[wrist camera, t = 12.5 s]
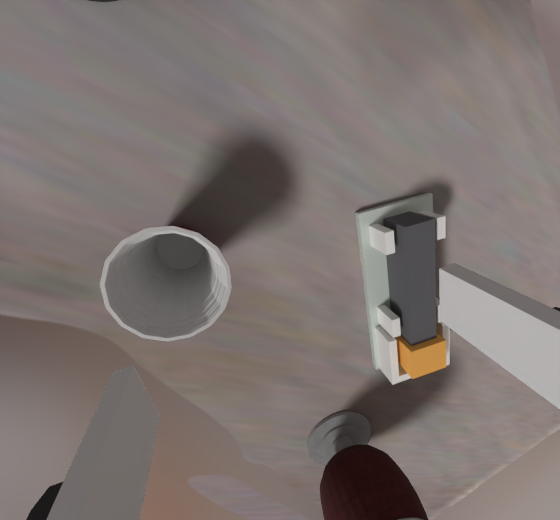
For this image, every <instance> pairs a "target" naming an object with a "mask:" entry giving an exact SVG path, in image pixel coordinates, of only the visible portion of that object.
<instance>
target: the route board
mask: <svg viewBox="0 0 560 520" xmlns="http://www.w3.org/2000/svg"><path fill="white" fill-rule="evenodd" d="M409 211H411V212H414V213H417V214H421V215H424V216H427V217H431V218H434V219H435V240H440V239H443V238H445V236H446V216H445V215H441V214H437V213H434V212H433V193H424V194H421V195H417V196H414V197H410V198H406V199H403V200H399V201H395V202H392V203H388V204H384V205H381V206H377V207H373V208H370V209H366V210H362V211H359V212H355V216H356V225H357V233H358V242H359V250H360V259H361V267H362V276H363V284H364V292H365V301H366V309H367V318H368V326H369V335H370V343H371V352H372V360H373V366H374V368H375V369H376V370H377V369H381V371H382V372H383V373H384V374H385V376H386V377H387V378H388V380H389V381H390V382H391V383H392V385H393V384H396V383H399V382H402V381H405V380H407V379H410V378H411V377H410V375H409V374H408V373H407V372H406V371H405V370H404V369H403V368H402V366H401V365H400V364H399V363H398V354H397V341H396V339H395V338H394V337H397V336H400V335H401V329H400V318H399V317H398V316H397V315H396V314H395V313H393V312H392V311H391V308H390V296H389V284H388V271H387V259H386V255H389V254H393V253H395V242H394V230H391V229H389V228H387V227H384V222H383V219H384V218H388V217H391V216H395V215H398V214H402V213H405V212H409ZM436 329H437V333H438V334H439V335H440V336H442V337H443V338H444V339H445V340H446V366H447V365H449V364H450V328H449V327H448V326H447V325H445V324H444V323H443V322H441V321H440V299H438V298H437V297H436Z"/></svg>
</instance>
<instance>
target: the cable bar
mask: <svg viewBox="0 0 560 520" xmlns="http://www.w3.org/2000/svg"><path fill="white" fill-rule="evenodd" d="M383 222H384V227H387V228H389V229H391V230H394V242H395V253H393V254H389V255H386V259H387V271H388V284H389V296H390V308H391V311H392V312H393V313H395V314H396V315H397V316H398V317H399V318H400V329H401V335H400V336H397V337H394V338H395V339H396V341H397V354H398V363H399V364H400V365H401V366H402V368H403V369H404V370H405V371H406V372H407V373H408V374H409V375H410V377H411V378H412V379H415V378H417V377H420V376H423V375H426V374H429V373H431V372H434V371H437V370H440V369H443V368H445V367H446V340H445V339H444V338H443V337H442V336H440V335H439V334H438V333H437V329H436V249H435V219H434V218H431V217H427V216H424V215H421V214H417V213H414V212H411V211H409V212H405V213H402V214H398V215H395V216H391V217H388V218H384V219H383Z"/></svg>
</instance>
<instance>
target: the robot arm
mask: <svg viewBox="0 0 560 520" xmlns="http://www.w3.org/2000/svg"><path fill="white" fill-rule="evenodd" d="M90 1H98V2H110V1H117V0H90ZM439 297H440V321H441V322H443V323H444V324H445V325H447V326H448V327H449V328H451V329H452V330H453V331H455V332H456V333H458V334H459V335H460V336H462V337H463V338H464V339H466V340H467V341H468V342H470V343H471V344H472V345H474V346H475V347H476V348H478V349H479V350H480V351H482V352H483V353H485V354H486V355H487V356H489V357H490V358H491V359H493V360H494V361H495V362H497V363H498V364H499V365H501V366H502V367H503V368H505V369H506V370H507V371H509V372H510V373H512V374H513V375H514V376H516V377H517V378H518V379H520V380H521V381H522V382H524V383H525V384H526V385H528V386H529V387H530V388H532V389H533V390H534V391H536V392H537V393H539V394H540V395H541V396H543V397H544V398H545V399H547V400H548V401H549V402H551V403H552V404H553V405H555V406H556V407H557V408H559V409H560V308H557V307H554V308H551V307H549V306H547V305H544V304H542V303H540V302H538V301H536V300H533V299H531V298H529V297H527V296H525V295H523V294H520V293H518V292H516V291H514V290H512V289H510V288H507V287H505V286H503V285H501V284H499V283H497V282H494V281H492V280H490V279H488V278H486V277H483V276H481V275H479V274H477V273H475V272H473V271H470V270H468V269H466V268H464V267H462V266H460V265H457V264H455V263H454V264H451V265H448V266H445V267H441V268H439ZM159 419H160V414H159V412H158V411H157V409H156V407H155V405H154V403H153V401H152V399H151V397H150V395H149V394H148V392H147V390H146V388H145V386H144V384H143V382H142V380H141V379H140V377H139V375H138V373H137V371H136V369H135V367H134V366H133V365H132V366H129V367H126V368H122V369H119V370H116V371H113V372H112V375H111V377H110V379H109V381H108V384H107V386H106V388H105V390H104V392H103V395H102V397H101V399H100V401H99V404H98V406H97V408H96V410H95V413H94V415H93V417H92V419H91V422H90V424H89V426H88V428H87V431H86V433H85V435H84V437H83V439H82V442H81V444H80V446H79V448H78V450H77V453H76V455H75V457H74V459H73V462H72V464H71V466H70V469H69V470H68V473H67V475H66V477H65V479H64V482H61V483H59V484H56V485H53V486H50V487H49V488H48V489H47V490H46V492H45V493H44V494H43V496H42V497H41V498H40V499H39V501H38V502H37V503H36V505H35V506H34V507H33V509H32V510H31V512H30V513H29V516H28V518H27V520H140V516H141V511H142V505H143V500H144V495H145V490H146V484H147V480H148V475H149V469H150V464H151V459H152V454H153V449H154V444H155V439H156V434H157V429H158V424H159Z"/></svg>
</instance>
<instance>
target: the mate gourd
mask: <svg viewBox="0 0 560 520" xmlns="http://www.w3.org/2000/svg"><path fill="white" fill-rule="evenodd" d="M370 437H371V426H370V424H369V422H368V420H367V419H366V418H365V416H363V415H362V414H360V413H357V412H352V411H343V412H338V413H335V414H332V415H330V416H328V417H326V418H325V419H323V420H322V421H320V422H319V423H318V424H317V425H316V426H315V427H314V428H313V430H312V431H311V433H310V435H309V437H308V440H307V449H308V452H309V455H310V457H311V458H312V459H313V460H314V461H316V462H317V463H320V464H323V465H326V467H325V470H324V473H323V477H322V480H321V484H320V496H321V504H322V509H323V515H324V519H325V520H428V518H427V515H426V512H425V510H424V508H423V506H422V504H421V501H420V499H419V497H418V495H417V493H416V491H415V490H414V488H413V486H412V485H411V483H410V482H409V480H408V478H407V477H406V476H405V474H404V473H403V472H402V470H401V469H400V468H399V467H398V465H397V464H396V463H395V462H394V461H393V460H392V459H391V457H390V456H389V455H388V454H386V453H385V452H383V451H381V450H379V449H377V448H374V447H372V446H369V445H367V444H368V442H369V440H370Z"/></svg>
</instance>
